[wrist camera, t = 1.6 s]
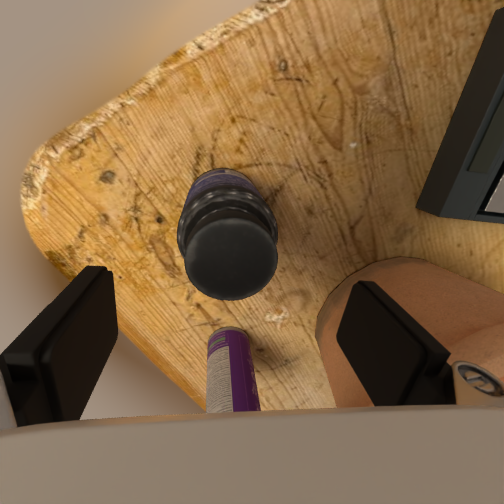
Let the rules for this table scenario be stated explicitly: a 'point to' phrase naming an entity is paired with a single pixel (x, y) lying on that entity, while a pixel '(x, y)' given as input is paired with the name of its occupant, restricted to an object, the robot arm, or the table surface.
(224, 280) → the pill bottle
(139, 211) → the table surface
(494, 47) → the scale
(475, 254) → the table surface
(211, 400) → the container
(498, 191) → the scale pan
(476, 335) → the pottery
